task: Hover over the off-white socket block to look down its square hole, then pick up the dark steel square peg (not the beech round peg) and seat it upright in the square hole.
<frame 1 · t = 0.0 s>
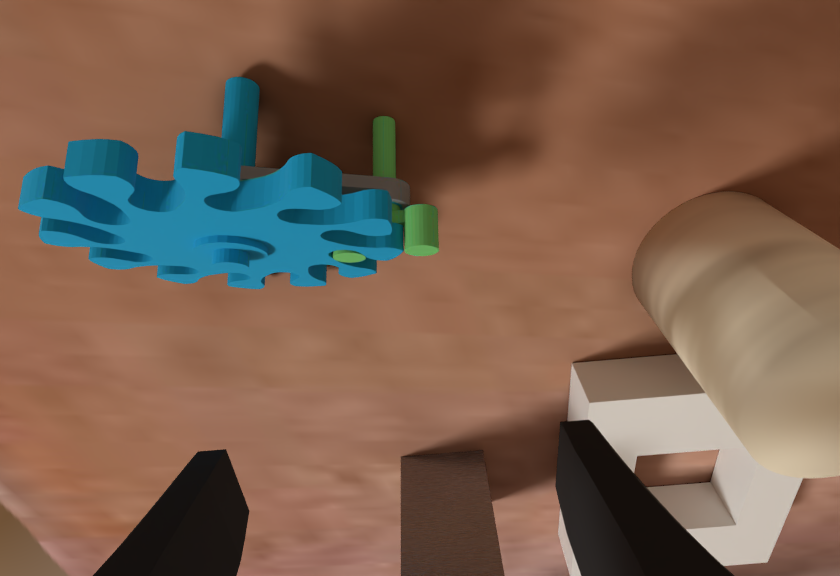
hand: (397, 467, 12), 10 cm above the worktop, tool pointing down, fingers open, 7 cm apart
gear: (278, 185, 19), on the worktop
square peg: (444, 481, 27), on the worktop
socket block: (665, 449, 26), on the worktop
round peg: (706, 261, 21), on the worktop
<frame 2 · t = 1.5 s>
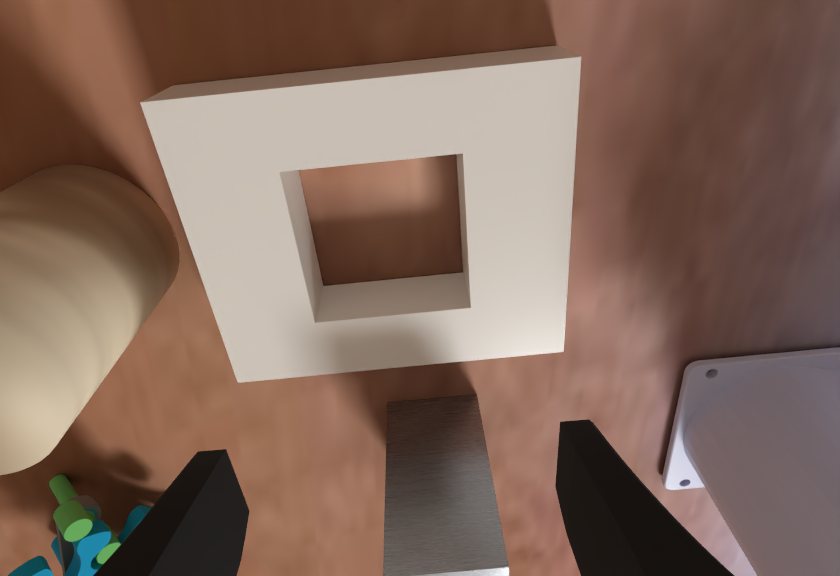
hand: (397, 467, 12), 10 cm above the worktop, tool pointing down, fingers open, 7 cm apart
gear: (133, 523, 28), on the worktop
square peg: (435, 430, 25), on the worktop
socket block: (384, 214, 19), on the worktop
round peg: (96, 242, 19), on the worktop
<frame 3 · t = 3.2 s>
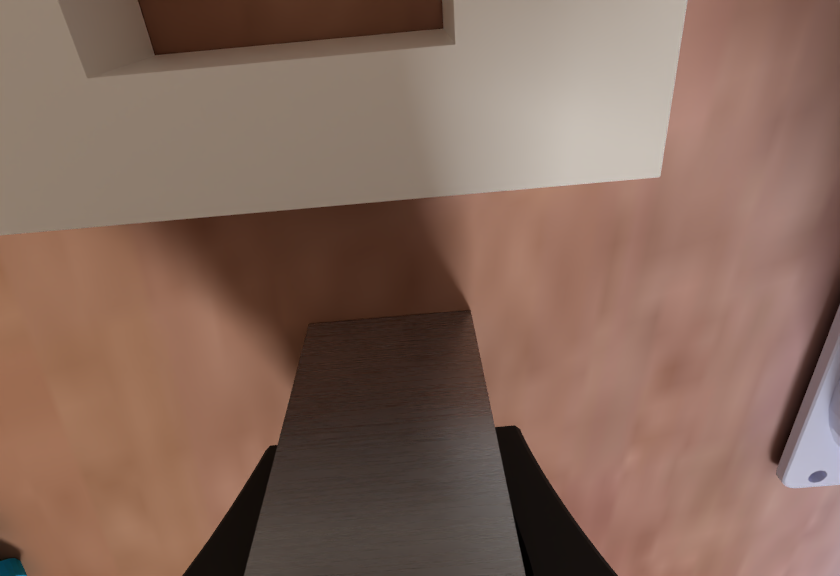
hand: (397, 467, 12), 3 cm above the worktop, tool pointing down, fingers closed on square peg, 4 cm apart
square peg: (397, 379, 14), on the worktop, touching gripper
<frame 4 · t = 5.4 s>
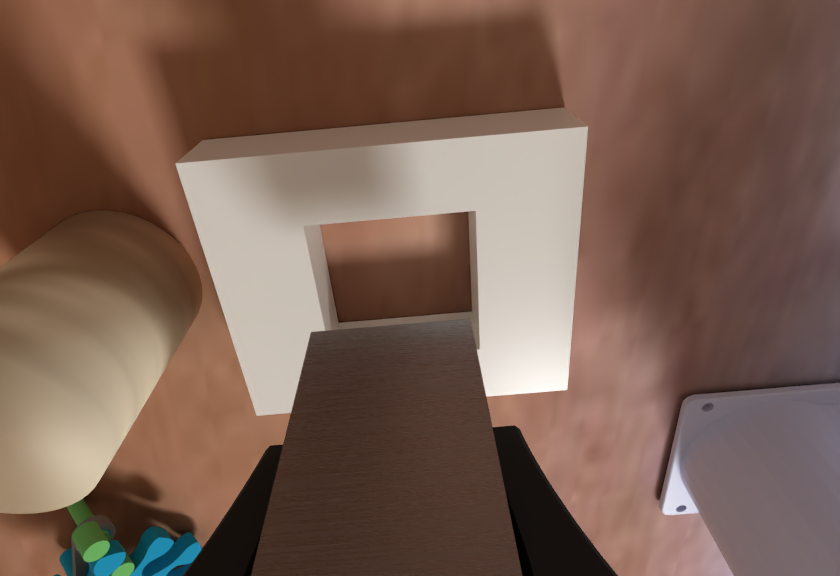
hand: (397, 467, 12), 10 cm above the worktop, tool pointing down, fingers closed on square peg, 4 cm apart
gear: (140, 539, 29), on the worktop
square peg: (398, 386, 14), point 7 cm above the worktop, touching gripper
socket block: (398, 257, 20), on the worktop
round peg: (123, 281, 20), on the worktop
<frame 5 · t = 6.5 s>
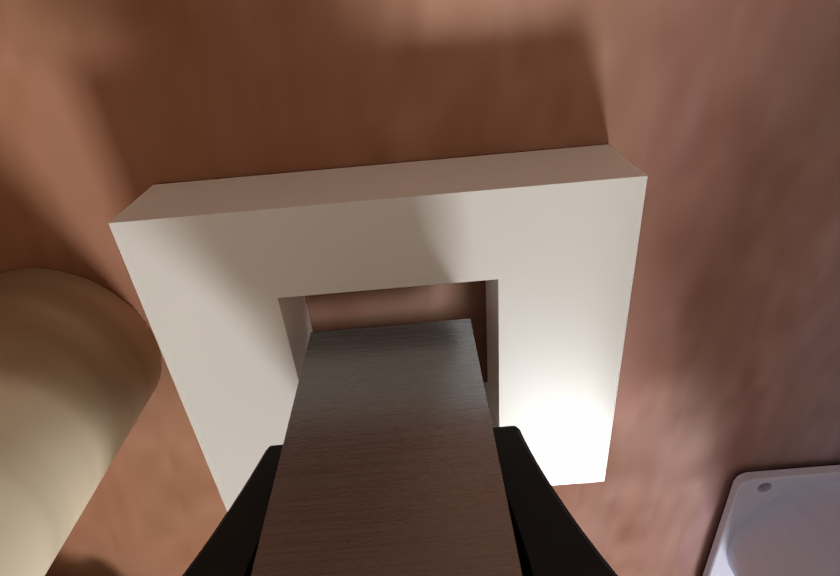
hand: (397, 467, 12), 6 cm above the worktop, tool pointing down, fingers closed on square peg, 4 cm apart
square peg: (398, 386, 14), point 3 cm above the worktop, touching gripper
socket block: (399, 322, 17), on the worktop
round peg: (65, 349, 17), on the worktop
when the fingers open (4 cm above the worktop, at t = 7.4 s): square peg stays where it is, resting in socket block.
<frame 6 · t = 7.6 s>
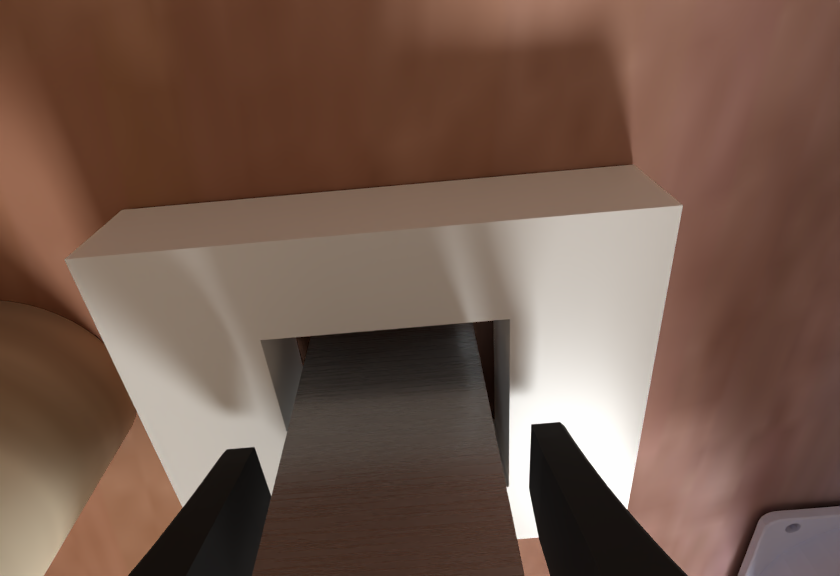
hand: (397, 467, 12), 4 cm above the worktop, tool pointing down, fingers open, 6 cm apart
square peg: (399, 362, 15), resting in socket block
socket block: (397, 356, 15), on the worktop
round peg: (30, 386, 15), on the worktop
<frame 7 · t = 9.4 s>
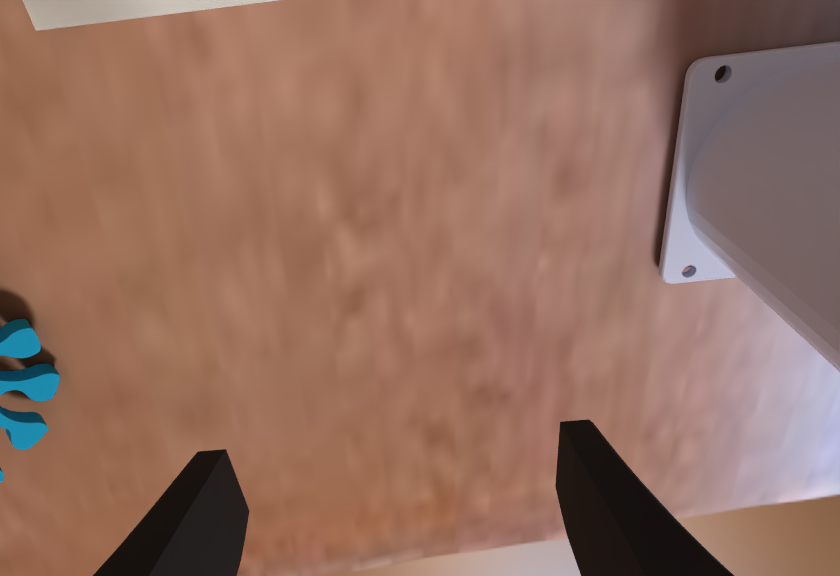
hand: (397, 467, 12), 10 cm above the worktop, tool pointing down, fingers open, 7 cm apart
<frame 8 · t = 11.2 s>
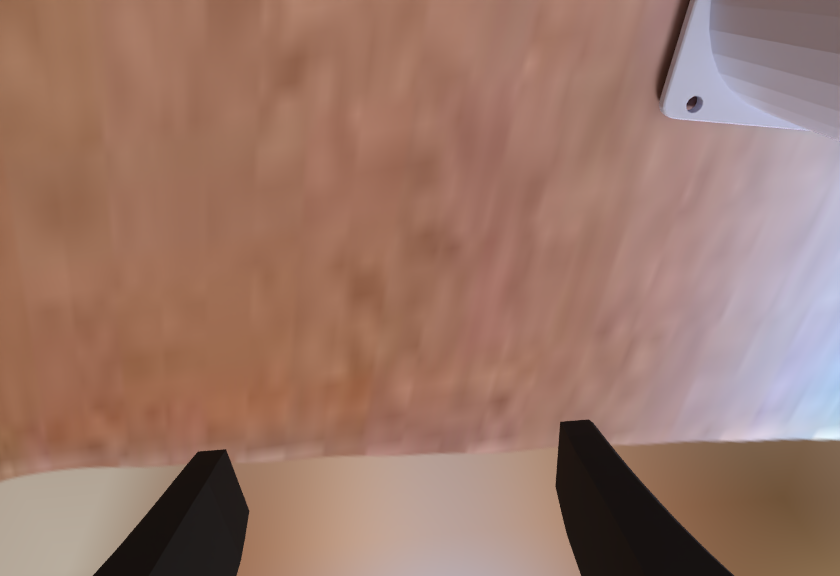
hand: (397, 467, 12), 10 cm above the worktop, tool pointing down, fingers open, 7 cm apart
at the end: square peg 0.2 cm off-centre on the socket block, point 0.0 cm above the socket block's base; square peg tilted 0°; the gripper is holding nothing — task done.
